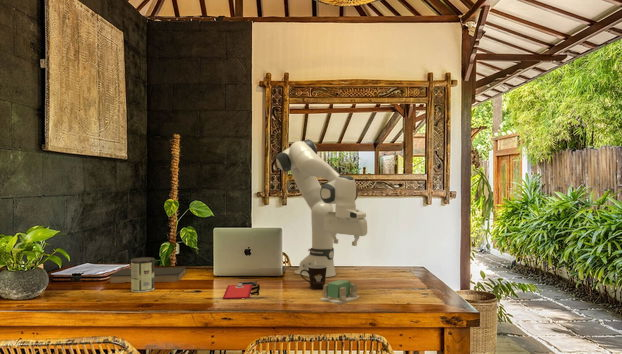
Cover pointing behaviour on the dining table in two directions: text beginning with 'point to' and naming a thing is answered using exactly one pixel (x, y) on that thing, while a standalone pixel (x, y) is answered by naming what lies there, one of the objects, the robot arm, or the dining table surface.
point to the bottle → (338, 288)
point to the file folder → (159, 275)
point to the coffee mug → (316, 276)
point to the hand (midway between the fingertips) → (344, 244)
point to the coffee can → (142, 274)
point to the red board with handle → (241, 290)
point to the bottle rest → (343, 296)
